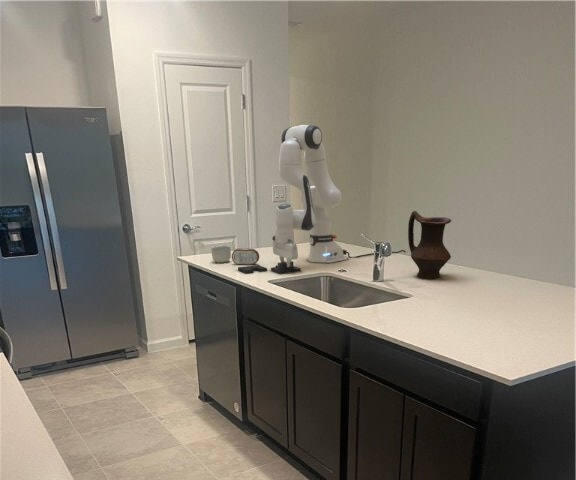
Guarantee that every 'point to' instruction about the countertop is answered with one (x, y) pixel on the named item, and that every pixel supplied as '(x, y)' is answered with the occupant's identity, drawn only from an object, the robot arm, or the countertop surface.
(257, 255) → the tin
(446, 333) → the countertop surface
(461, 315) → the countertop surface
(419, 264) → the jug
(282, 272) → the loose pad
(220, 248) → the teacup
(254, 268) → the base pad
